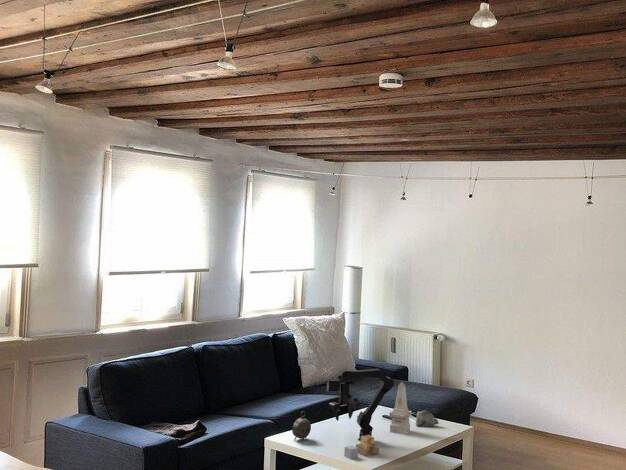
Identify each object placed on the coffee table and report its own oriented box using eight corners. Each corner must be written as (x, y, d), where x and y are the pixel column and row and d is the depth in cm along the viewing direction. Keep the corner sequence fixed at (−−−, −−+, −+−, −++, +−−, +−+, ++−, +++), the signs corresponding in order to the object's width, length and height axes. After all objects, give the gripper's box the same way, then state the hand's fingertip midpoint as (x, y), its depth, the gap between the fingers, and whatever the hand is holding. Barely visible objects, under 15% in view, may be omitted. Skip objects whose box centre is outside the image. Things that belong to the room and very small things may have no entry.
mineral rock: (439, 426, 421) (440, 410, 421) (432, 430, 412) (432, 413, 412) (420, 422, 428) (421, 406, 428) (412, 426, 419) (413, 410, 419)
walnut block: (369, 450, 369) (369, 442, 369) (378, 455, 361) (379, 447, 361) (355, 451, 364) (355, 444, 364) (364, 457, 356) (365, 449, 356)
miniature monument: (388, 432, 404) (391, 382, 404) (394, 427, 413) (396, 379, 413) (405, 434, 399) (407, 384, 399) (410, 430, 409) (412, 381, 409)
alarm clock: (305, 437, 385) (307, 408, 385) (312, 439, 381) (313, 411, 381) (291, 440, 378) (292, 411, 378) (297, 442, 374) (298, 413, 374)
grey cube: (351, 454, 358) (351, 445, 358) (357, 457, 354) (358, 448, 354) (344, 456, 355) (344, 446, 355) (350, 459, 351) (350, 449, 351)
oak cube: (367, 444, 366) (368, 434, 366) (373, 446, 362) (374, 437, 362) (360, 445, 363) (360, 436, 363) (366, 447, 359) (366, 438, 359)
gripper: (341, 396, 370) (340, 425, 370) (366, 393, 381) (365, 420, 381) (328, 392, 379) (327, 420, 379) (353, 389, 390) (352, 416, 390)
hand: (343, 419), depth 382 cm, fingers open, 9 cm apart
